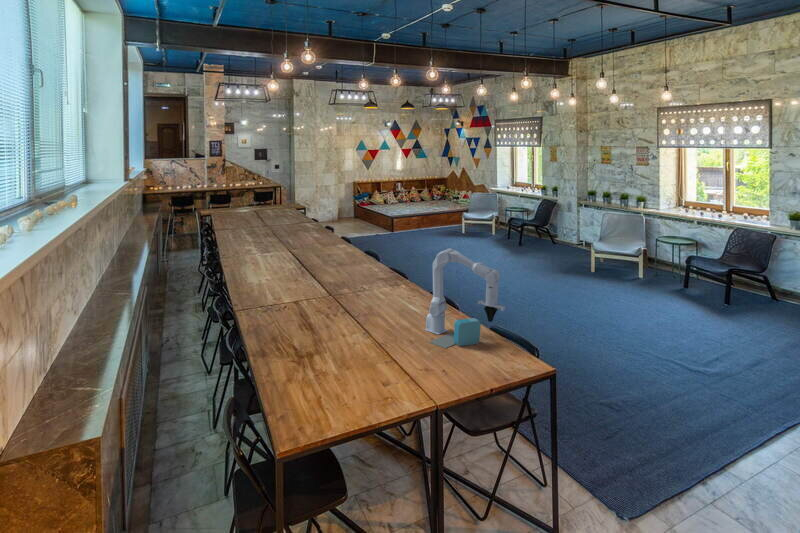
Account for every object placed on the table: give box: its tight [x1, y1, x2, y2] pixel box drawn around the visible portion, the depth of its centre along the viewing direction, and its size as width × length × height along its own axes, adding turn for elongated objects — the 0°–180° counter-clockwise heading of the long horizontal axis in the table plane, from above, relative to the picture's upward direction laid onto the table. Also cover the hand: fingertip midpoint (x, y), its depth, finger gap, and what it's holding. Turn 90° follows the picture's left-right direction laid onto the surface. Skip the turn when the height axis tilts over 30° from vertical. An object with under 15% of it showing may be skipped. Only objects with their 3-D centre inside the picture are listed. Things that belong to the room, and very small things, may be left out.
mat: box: [428, 331, 457, 349], centre depth 251 cm, size 11×24×1 cm, turn 136°
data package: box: [453, 317, 482, 347], centre depth 243 cm, size 12×4×12 cm, turn 111°
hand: (490, 321), depth 246 cm, fingers closed
